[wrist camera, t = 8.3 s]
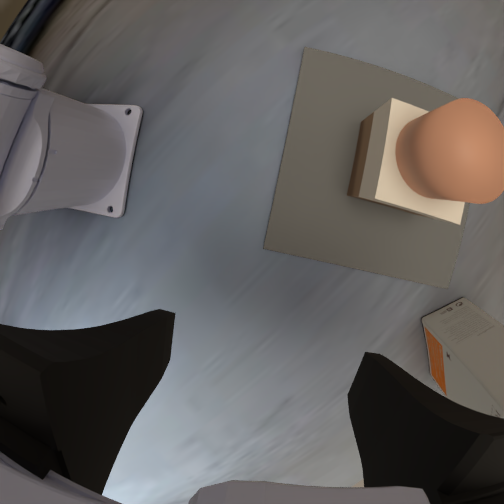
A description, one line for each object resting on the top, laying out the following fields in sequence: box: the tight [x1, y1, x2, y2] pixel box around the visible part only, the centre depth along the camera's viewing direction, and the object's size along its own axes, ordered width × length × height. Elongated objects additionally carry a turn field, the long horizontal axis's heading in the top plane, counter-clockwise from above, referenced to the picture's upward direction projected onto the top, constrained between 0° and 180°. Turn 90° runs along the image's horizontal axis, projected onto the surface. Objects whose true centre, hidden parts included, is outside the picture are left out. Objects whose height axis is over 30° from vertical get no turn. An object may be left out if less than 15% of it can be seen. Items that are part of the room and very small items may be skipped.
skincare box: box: [422, 298, 504, 419], centre depth 15 cm, size 6×4×12 cm
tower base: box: [347, 112, 430, 218], centre depth 17 cm, size 5×5×3 cm
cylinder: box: [395, 98, 504, 204], centre depth 11 cm, size 4×4×4 cm
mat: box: [263, 47, 470, 289], centre depth 19 cm, size 14×14×1 cm
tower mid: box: [359, 98, 465, 225], centre depth 14 cm, size 5×5×3 cm
